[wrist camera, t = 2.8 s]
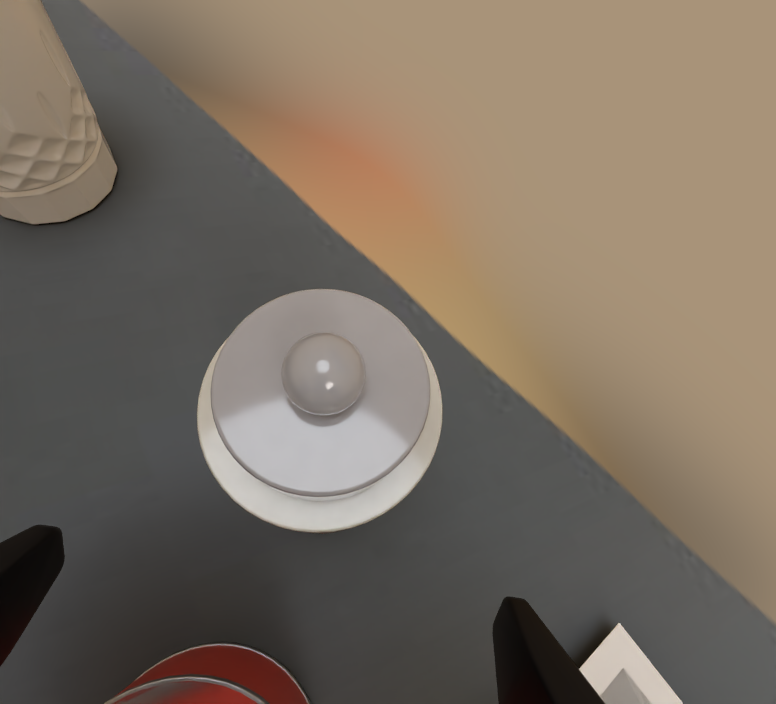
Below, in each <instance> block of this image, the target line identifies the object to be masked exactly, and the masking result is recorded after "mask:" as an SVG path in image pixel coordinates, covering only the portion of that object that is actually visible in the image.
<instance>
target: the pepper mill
mask: <svg viewBox="0 0 776 704" xmlns="http://www.w3.org/2000/svg"><path fill="white" fill-rule="evenodd" d="M442 409H443V407H442V398H441V391H440V387H439V382H438V378H437V376H436V373H435V370H434V368H433V365H432V363H431V361H430V360H429V358H428V356H427V354H426V352H425V351H424V349H423V348H422V346H421V345H420V344H419V342H418V341H417V340H416V339H415V337H414V336H413V335H412V334H411V332H410V331H409V330H408V328H407V327H406V326H405V325H404V324H403V323H402V322H401V321H400V320H399V319H398V318H397V317H396V316H395V315H394V314H392V313H391V312H390V311H389V310H387V309H386V308H384V307H383V306H381V305H380V304H378V303H376V302H374V301H372V300H370V299H368V298H366V297H363V296H360V295H358V294H354V293H350V292H346V291H341V290H334V289H311V290H303V291H298V292H293V293H290V294H287V295H284V296H281V297H278V298H276V299H274V300H272V301H270V302H268V303H266V304H264V305H263V306H261V307H259V308H258V309H256V310H255V311H254V312H252V313H251V314H250V315H249V316H247V317H246V318H245V319H244V320H243V321H242V322H241V323H240V324H239V325H238V326H237V327H236V328H235V330H234V331H233V332H232V334H231V335H230V336H229V337H228V338H227V339H226V341H225V342H224V343H223V345H222V346H221V347H220V349H219V350H218V351H217V353H216V354H215V356H214V358H213V360H212V361H211V363H210V365H209V367H208V369H207V372H206V374H205V376H204V379H203V382H202V386H201V389H200V393H199V399H198V407H197V429H198V435H199V441H200V445H201V448H202V451H203V455H204V458H205V460H206V462H207V464H208V466H209V468H210V470H211V472H212V474H213V476H214V477H215V479H216V480H217V482H218V483H219V485H220V486H221V487H222V489H223V490H224V491H225V492H226V493H227V494H228V495H229V496H230V497H231V498H232V499H233V500H234V501H235V502H236V503H237V504H238V505H240V506H241V507H242V508H244V509H245V510H246V511H247V512H249V513H251V514H252V515H254V516H256V517H258V518H259V519H261V520H263V521H265V522H268V523H271V524H273V525H276V526H278V527H281V528H286V529H290V530H294V531H300V532H307V533H316V534H328V533H334V532H339V531H342V530H346V529H350V528H353V527H356V526H359V525H361V524H364V523H367V522H369V521H371V520H373V519H375V518H377V517H379V516H381V515H383V514H384V513H386V512H387V511H389V510H390V509H392V508H393V507H395V506H396V505H397V504H398V503H399V502H401V501H402V500H403V499H404V498H405V497H406V496H407V495H408V494H409V493H410V492H411V491H412V490H413V488H414V487H415V486H416V485H417V484H418V483H419V481H420V480H421V478H422V477H423V475H424V474H425V472H426V470H427V469H428V467H429V465H430V463H431V461H432V458H433V456H434V454H435V451H436V448H437V445H438V442H439V438H440V433H441V426H442Z"/></svg>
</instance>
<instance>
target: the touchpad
mask: <svg viewBox="0 0 776 704" xmlns="http://www.w3.org/2000/svg"><path fill="white" fill-rule="evenodd" d="M579 670H580V671H581V673H582V674H583V675H584V677H585V678H586V679H587V680H588V682H589V683H590V684H591V686H592V687H593V688H594V690H595V691H596V692H597V693H598V695H599V696H600V697H601V699H602V700H603V701H604V703H605V704H683V703H682V701H681V700H680V699H679V698H678V696H677V695H676V694H675V693H674V691H673V690H672V689H671V688H670V686H669V685H668V684H667V682H666V681H665V680H664V679H663V677H662V676H661V675H660V674H659V672H658V671H657V670H656V669H655V667H654V666H653V665H652V663H651V662H650V661H649V660H648V658H647V657H646V656H645V655H644V653H643V652H642V651H641V650H640V648H639V647H638V646H637V645H636V643H635V642H634V641H633V639H632V638H631V637H630V636H629V634H628V633H627V632H626V631H625V629H624V628H623V627H622V626H621V624H620V623H618V624H617V625H616V627H615V628H614V629H613V630H612V631H611V632H610V633H609V635H608V636H607V637H606V638H605V639H604V640H603V642H602V643H601V644H600V645H599V646H598V647H597V649H596V650H595V651H594V652H593V653H592V654H591V656H590V657H589V658H588V659H587V660H586V661H585V663H584V664H583V665H582V666H581V667H580V668H579Z"/></svg>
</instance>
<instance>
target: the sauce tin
mask: <svg viewBox="0 0 776 704" xmlns="http://www.w3.org/2000/svg"><path fill="white" fill-rule="evenodd" d="M104 704H311V703H310V701H309V699H308V697H307V695H306V693H305V691H304V689H303V688H302V686H301V685H300V683H299V682H298V680H297V679H296V678H295V677H294V676H293V674H292V673H291V672H290V671H289V670H288V669H287V668H286V667H285V666H284V665H283V664H281V663H280V662H279V661H278V660H276V659H275V658H274V657H272V656H270V655H269V654H267V653H265V652H263V651H261V650H259V649H256V648H254V647H251V646H248V645H243V644H239V643H230V642H215V643H205V644H201V645H197V646H192V647H189V648H187V649H184V650H181V651H179V652H176V653H174V654H172V655H170V656H168V657H166V658H165V659H163V660H161V661H159V662H158V663H156V664H155V665H153V666H152V667H151V668H149V669H148V670H146V671H145V672H144V673H142V674H141V675H140V676H139V677H138V678H137V679H135V680H134V681H133V682H132V683H131V684H130V685H129V686H127V687H126V688H125V689H124V690H122V691H121V692H120V693H118V694H117V695H116V696H114V697H113V698H111V699H109V700H108V701H106V702H105V703H104Z"/></svg>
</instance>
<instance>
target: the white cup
mask: <svg viewBox="0 0 776 704" xmlns="http://www.w3.org/2000/svg"><path fill="white" fill-rule="evenodd" d="M116 173H117V166H116V163H115V160H114V158H113V155H112V152H111V150H110V147H109V145H108V143H107V141H106V139H105V137H104V135H103V133H102V131H101V129H100V127H99V125H98V123H97V117H96V114H95V112H94V110H93V108H92V106H91V104H90V102H89V100H88V98H87V95H86V92H85V90H84V88H83V86H82V84H81V81H80V79H79V77H78V75H77V73H76V71H75V69H74V67H73V65H72V63H71V61H70V59H69V57H68V55H67V53H66V50H65V48H64V46H63V44H62V42H61V40H60V38H59V36H58V34H57V32H56V30H55V28H54V26H53V24H52V22H51V20H50V18H49V16H48V14H47V12H46V10H45V8H44V6H43V4H42V2H41V0H0V215H1V216H3V217H5V218H9V219H13V220H17V221H21V222H25V223H29V224H43V223H53V222H63V221H67V220H69V219H71V218H74V217H76V216H78V215H81V214H83V213H85V212H87V211H89V210H92V209H93V208H94V207H95V206H96V205H97V204H98V203H99V202H101V201H102V200H103V199H104V197H105V196H106V195H107V194H108V193H109V192H110V191H111V190H112V187H113V184H114V180H115V177H116Z"/></svg>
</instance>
